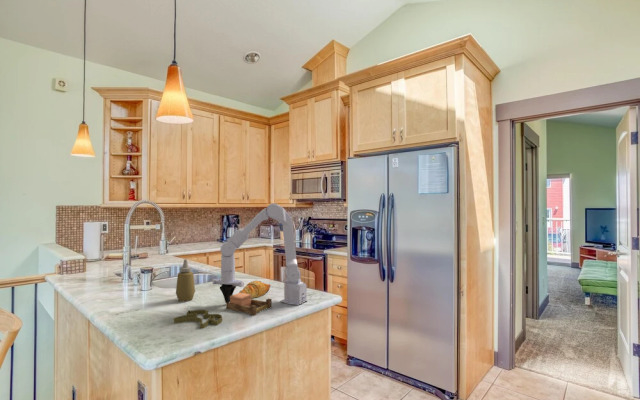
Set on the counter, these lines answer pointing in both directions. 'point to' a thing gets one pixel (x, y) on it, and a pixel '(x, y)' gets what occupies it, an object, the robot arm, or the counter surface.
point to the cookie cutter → (193, 317)
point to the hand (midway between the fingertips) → (228, 302)
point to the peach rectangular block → (241, 299)
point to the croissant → (255, 289)
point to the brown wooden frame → (253, 308)
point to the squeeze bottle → (185, 283)
